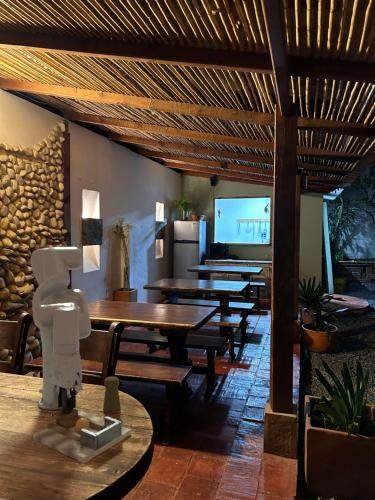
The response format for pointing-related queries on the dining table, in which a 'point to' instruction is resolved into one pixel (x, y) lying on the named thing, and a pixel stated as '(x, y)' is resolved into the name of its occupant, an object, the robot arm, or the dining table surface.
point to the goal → (102, 434)
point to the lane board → (75, 438)
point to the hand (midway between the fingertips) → (66, 406)
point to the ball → (82, 424)
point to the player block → (66, 413)
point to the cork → (111, 395)
